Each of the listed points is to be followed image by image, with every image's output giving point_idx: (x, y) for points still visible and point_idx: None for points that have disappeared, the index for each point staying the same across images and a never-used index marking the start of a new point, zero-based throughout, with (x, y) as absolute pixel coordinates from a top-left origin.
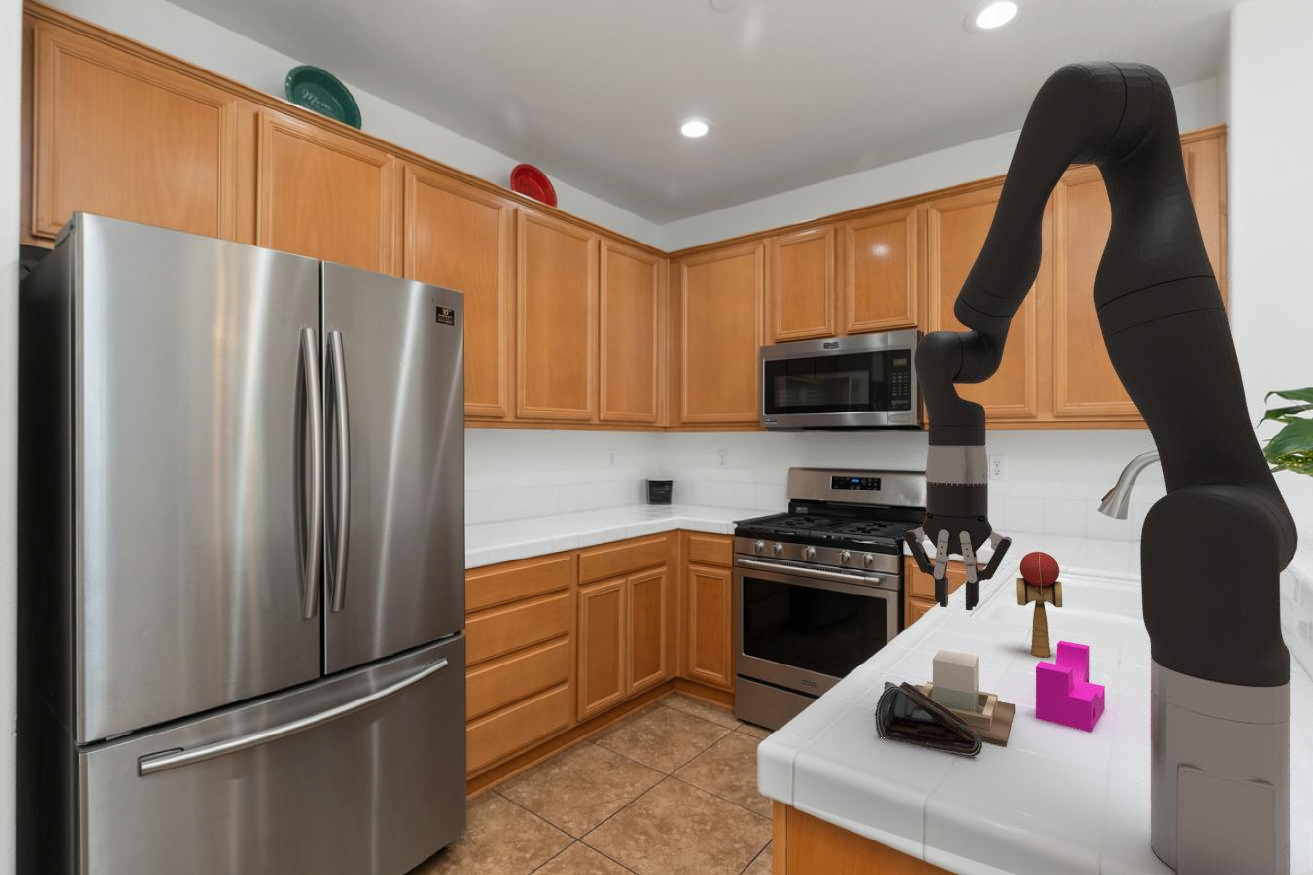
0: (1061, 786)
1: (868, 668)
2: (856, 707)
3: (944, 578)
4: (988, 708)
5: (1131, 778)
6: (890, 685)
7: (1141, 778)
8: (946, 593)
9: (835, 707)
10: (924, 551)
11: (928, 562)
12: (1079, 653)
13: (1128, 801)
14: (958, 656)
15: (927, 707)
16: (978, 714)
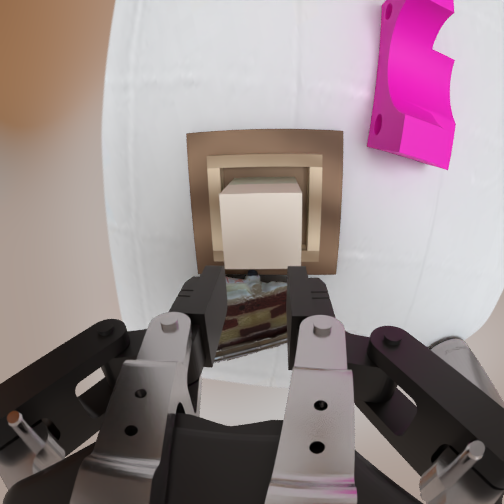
0: (378, 314)
1: (105, 83)
2: (143, 241)
3: (204, 360)
4: (314, 224)
5: (439, 262)
6: None
7: (447, 257)
8: (219, 312)
9: (125, 256)
10: (72, 394)
11: (110, 362)
12: (440, 11)
13: (423, 308)
14: (264, 219)
15: (248, 342)
16: (303, 254)
